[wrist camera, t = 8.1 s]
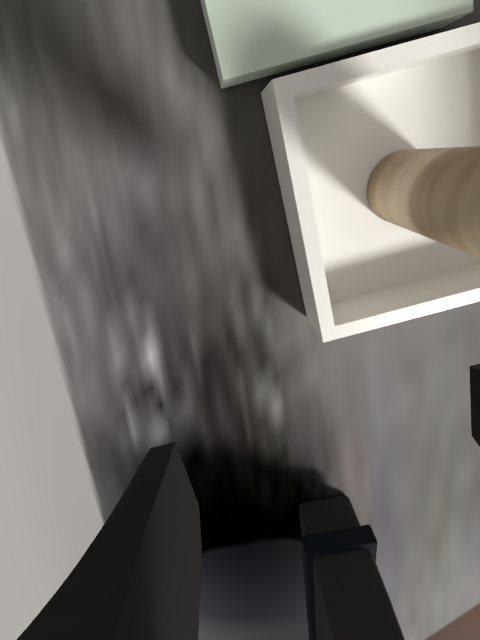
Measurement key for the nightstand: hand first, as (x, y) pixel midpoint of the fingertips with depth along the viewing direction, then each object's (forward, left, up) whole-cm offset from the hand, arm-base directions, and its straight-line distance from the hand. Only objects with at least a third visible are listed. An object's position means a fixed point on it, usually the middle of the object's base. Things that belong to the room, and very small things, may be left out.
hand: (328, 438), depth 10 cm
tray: (-7, -3, -11) cm, 13 cm away
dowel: (-7, -4, -10) cm, 13 cm away
